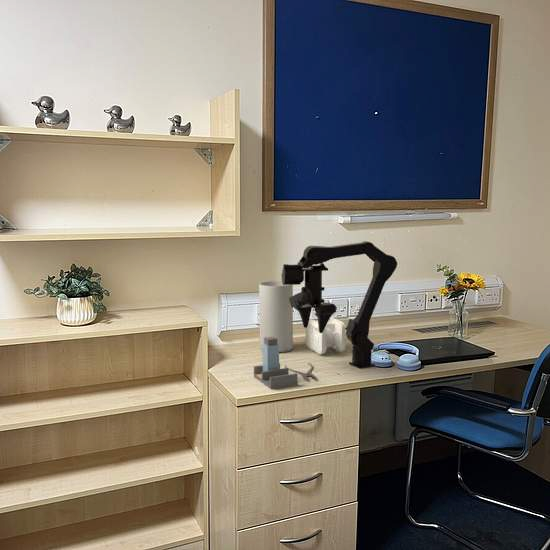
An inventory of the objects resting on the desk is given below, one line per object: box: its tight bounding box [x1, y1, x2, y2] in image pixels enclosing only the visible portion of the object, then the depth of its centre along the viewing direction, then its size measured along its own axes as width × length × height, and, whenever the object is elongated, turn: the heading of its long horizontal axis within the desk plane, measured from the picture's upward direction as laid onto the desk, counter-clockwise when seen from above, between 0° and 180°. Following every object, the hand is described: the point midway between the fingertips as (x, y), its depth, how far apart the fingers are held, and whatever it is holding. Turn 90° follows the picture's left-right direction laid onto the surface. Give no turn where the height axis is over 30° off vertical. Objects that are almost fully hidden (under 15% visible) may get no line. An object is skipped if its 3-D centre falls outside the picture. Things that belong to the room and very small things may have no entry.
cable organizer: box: [305, 316, 346, 356], centre depth 229 cm, size 15×11×12 cm
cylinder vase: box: [258, 280, 294, 353], centre depth 232 cm, size 12×12×25 cm
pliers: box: [284, 362, 318, 383], centre depth 204 cm, size 10×1×20 cm
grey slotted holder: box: [253, 362, 299, 390], centre depth 194 cm, size 9×14×4 cm, turn 24°
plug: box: [262, 337, 280, 371], centre depth 197 cm, size 4×4×12 cm
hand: (313, 330), depth 207 cm, fingers open, 9 cm apart
